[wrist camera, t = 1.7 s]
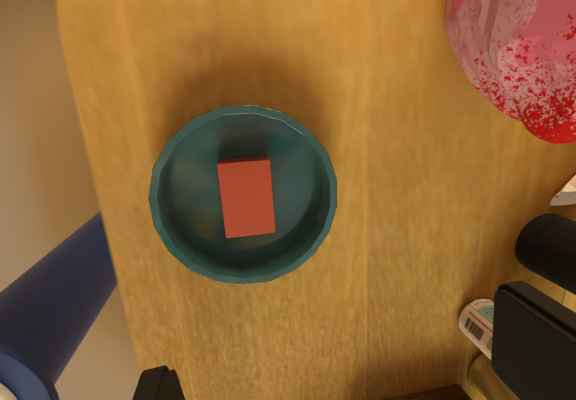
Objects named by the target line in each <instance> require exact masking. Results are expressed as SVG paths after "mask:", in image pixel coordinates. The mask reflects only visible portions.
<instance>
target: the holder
mask: <svg viewBox="0 0 576 400" xmlns="http://www.w3.org/2000/svg"><path fill="white" fill-rule="evenodd" d="M387 400H471V399H470V397H469V396H468V395H467V394H466V392H465V391H464V390H463V389H462V387H461V386H460V385H455V386H451V387H446V388H441V389H436V390H431V391H426V392H421V393H416V394H411V395H406V396H401V397H397V398H392V399H387Z"/></svg>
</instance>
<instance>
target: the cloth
mask: <svg viewBox="0 0 576 400" xmlns="http://www.w3.org/2000/svg"><path fill="white" fill-rule="evenodd" d="M570 204H576V175H575V176H574V177H573V178H572V179H571V180H570V181H569V182H568V183H567V184H566V185H565V186H564V187H563V188H562V189H561V190H560V191H559V192H558V193H557V194H556V195H555V196H554V197H553V198H552V199H551V200H550V205H551V206H557V205H570Z"/></svg>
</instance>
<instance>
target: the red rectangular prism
mask: <svg viewBox="0 0 576 400" xmlns="http://www.w3.org/2000/svg"><path fill="white" fill-rule="evenodd" d="M217 170H218V178H219V186H220V194H221V202H222V210H223V218H224V226H225V234H226V238H233V237H241V236H249V235H258V234H266V233H274V232H275V219H274V206H273V193H272V180H271V167H270V160H269V158H268V157H267V155H264V156H252V157H240V158H229V159H218V162H217Z"/></svg>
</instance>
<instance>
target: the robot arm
mask: <svg viewBox="0 0 576 400" xmlns="http://www.w3.org/2000/svg"><path fill="white" fill-rule="evenodd" d="M491 365H492V368H493V370H494V372H495V374H496V375H497V376H498V377H499V378H500V379H501V380H502V381H503V382H504V383H505V384H506V385H507V386H508V388H509V389H510V390H511V391H512V392H513V393H514V394H515V395H516V396H517V397H518V398H519V399H520V400H576V313H575V312H573V311H571V310H570V309H568V308H567V307H565V306H563V305H562V304H560V303H558V302H557V301H555V300H554V299H552V298H550V297H549V296H547V295H545V294H544V293H542V292H540V291H539V290H537V289H536V288H534V287H532V286H531V285H529V284H527V283H526V282H524V281H515V282H511V283H506V284H502V285H500V286H499V287H498V291H497V292H496V293H495V296H494V314H493V332H492V351H491ZM0 400H17V398H16V397H15V395H14V394H13V393H12V392H11V391H10V390H9V389H8V388H7V387H5V386H4V385H2V384H1V383H0ZM133 400H185V398H184V395H183V392H182V389H181V386H180V382H179V379H178V376H177V373H176V371H175V370H169V369H168V367H167V366H161V367H157V368H152V369H148V370H144V371H143V372H142V374H141V376H140V379H139V382H138V385H137V388H136V391H135V393H134V397H133Z"/></svg>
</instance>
